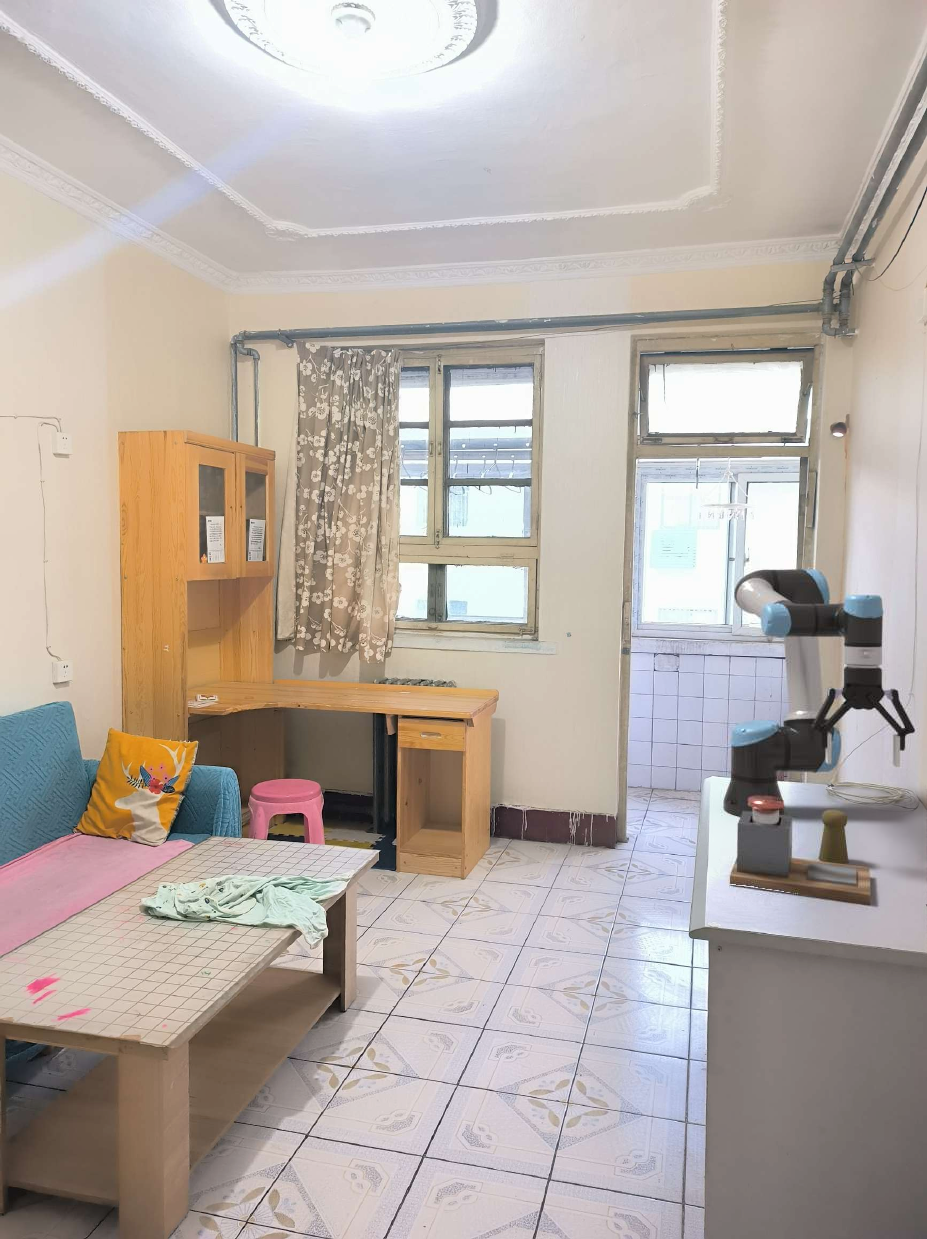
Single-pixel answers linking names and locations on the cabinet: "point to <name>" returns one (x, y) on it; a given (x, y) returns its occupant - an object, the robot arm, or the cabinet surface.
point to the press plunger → (765, 809)
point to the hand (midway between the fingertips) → (862, 764)
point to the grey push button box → (764, 846)
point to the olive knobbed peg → (834, 837)
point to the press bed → (814, 880)
